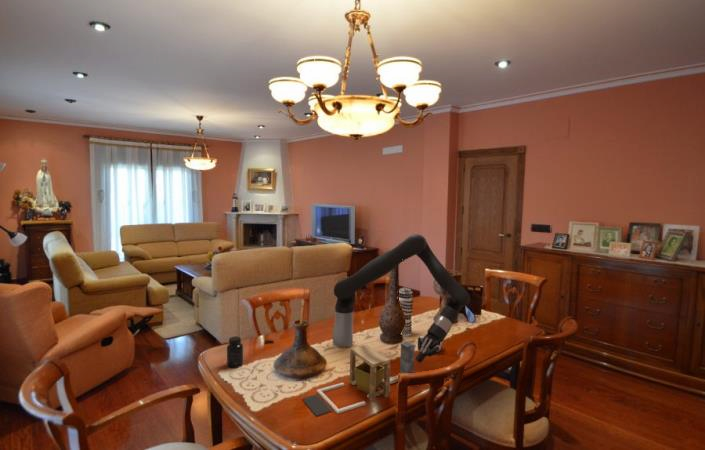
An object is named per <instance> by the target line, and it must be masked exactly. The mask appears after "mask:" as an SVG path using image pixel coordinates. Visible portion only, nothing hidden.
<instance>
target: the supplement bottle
mask: <svg viewBox="0 0 705 450" xmlns="http://www.w3.org/2000/svg"><path fill="white" fill-rule="evenodd" d="M241 340H242V338H241V337H240V336H231V337H230V338H229V339H228V344H227V345H226V366H227V367H228V368H231V369H236V368H240V367H242V366H243V364H244V344H243V343H242V341H241Z"/></svg>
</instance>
